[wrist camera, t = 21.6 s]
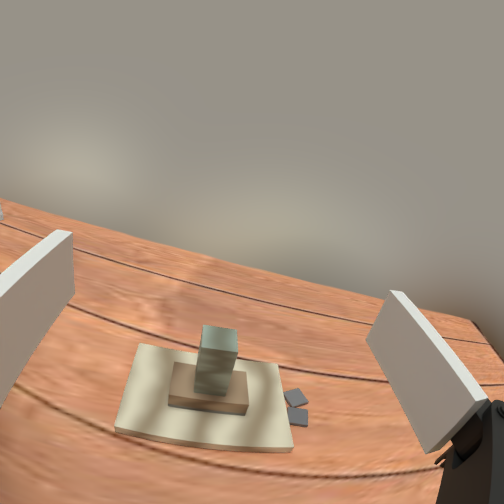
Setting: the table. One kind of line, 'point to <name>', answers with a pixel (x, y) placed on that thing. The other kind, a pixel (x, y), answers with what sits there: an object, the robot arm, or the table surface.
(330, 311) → the table surface
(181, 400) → the block
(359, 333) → the table surface
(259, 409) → the board
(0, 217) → the hinge
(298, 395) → the mark tile
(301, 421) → the mark tile
